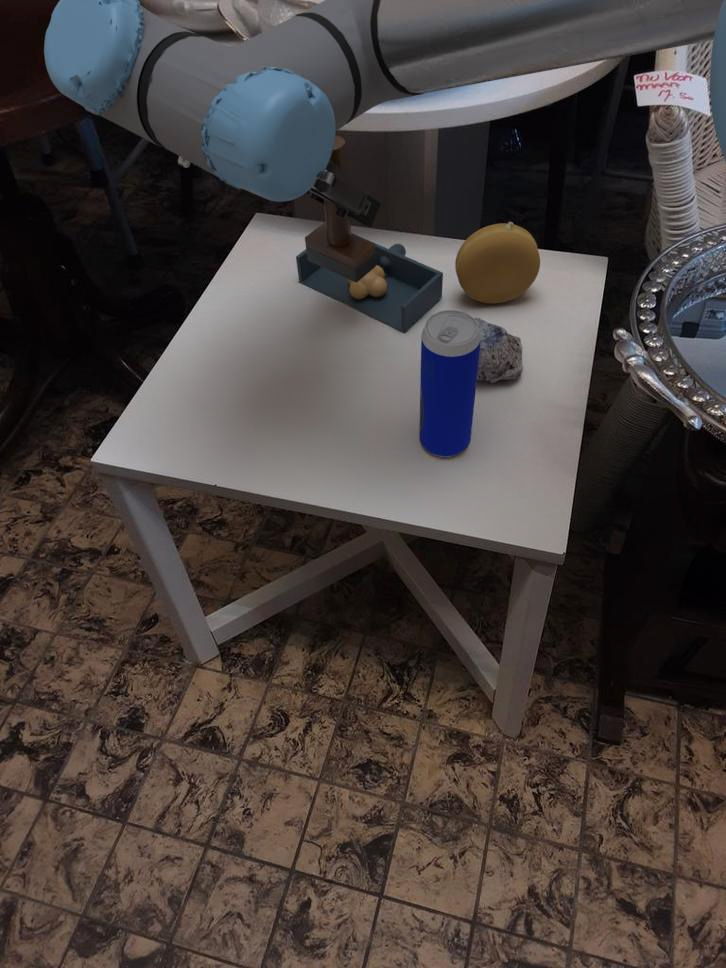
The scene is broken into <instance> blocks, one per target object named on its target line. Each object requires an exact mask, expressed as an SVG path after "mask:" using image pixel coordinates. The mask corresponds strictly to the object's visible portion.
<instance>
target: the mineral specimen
mask: <svg viewBox="0 0 726 968" xmlns="http://www.w3.org/2000/svg"><path fill="white" fill-rule="evenodd" d="M472 317H473V316H472ZM473 318H474V319H475V320H476V322H477V323H478V326H479V330H480V333H481V343H480V353H479V362H478V372H477V381H478V380H479V381H485V382H488V383H489V382H490V383H491V384H495V383H496V382H499V381H501V380H504V381H505V380H506V381H507V380H508V381H509V380H514V379H519V378H520V377H521V376H522V372H523V370H524V368H523V348H524V347H523V345H522V340H521V337H519V336H515V335H512V334H510V333H508V331H507V330H506V329H505V327H502V326H499V325H497V324H493V323H490V322H488V321H485V320H484V319H482V318H480V317H477V316H476V317H473Z"/></svg>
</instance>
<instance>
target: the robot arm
mask: <svg viewBox="0 0 726 968" xmlns="http://www.w3.org/2000/svg"><path fill="white" fill-rule="evenodd" d="M50 17H51V18H50V22H49V24H48V27H47V29H46V31H45V36H44V46H43V55H44V62H45V68H46V71H47V73H48V76H49V79H50V80H51V83H53V85H54V87H55V88H56V89H57V90H58V91H59V92H60V94H62V95H64V96H65V97H67V98H69V99H70V100H71V101H73V102H75V103H76V104H79V106H82V107H83V108H84V109H85V110H86V112H90V113H91V114H93V115H96V116H100V117H102V118H104V119H106V120H108V121H109V122H112V123H114V124H116V125H118V126H120V127H121V128H123V129H125V130H127V131H129V132H130V133H132V134H135V135H136V136H138V137H141V138H142V139H145V140H146V141H148V142H150V143H152V144H154V145H156V146H158V147H160V148H162V149H165V150H167V151H169V152H171V153H173V154H175V155H177V156H178V159H177V163H178V165H179V166H180V167H182V168H185V169H186V168H190V166H191V163H192V164H193V165H194V166H197V167H199V168H201V169H202V170H204V171H206V172H208V173H210V174H212V175H213V176H215V177H217V178H218V179H219V180H220V181H222V182H224V183H225V184H226V185H228V186H231V187H232V188H236V189H238V190H241V189H242V190H245V191H247V192H249V193H251V194H254V195H256V196H258V197H261V198H263V199H266V200H269V201H271V202H277V203H278V202H279V203H280V202H289V201H293V200H296V199H298V198H300V197H302V196H306V195H307V196H309V195H310V193H311V195H310V198H311V200H314V201H316V202H317V203H319V204H321V205H322V206H324V200H323V199H325V200H327V201H329V202H330V203H332V204H334V205H336V209H337V212H336V215H338V216H340V217H342V218H346V215H348V216H350V218H352V219H353V220H356V221H357V222H359V223H360V224H362V225H363V226H365V227H368V228H370V229H371V228H372V227H373V224H374V222H375V219H376V217H377V215H378V212H379V211H380V208H381V205H382V202H380V201H378V200H377V199H376V198H374V197H372V196H371V195H369V194H370V190H369V189H368V188H367V187H366V186H364V185H362V184H360V183H359V182H358V181H356V180H355V179H353V177H351V176H350V175H349V174H348V173H347V174H345V173H344V172H343V171H341V170H340V169H339V167H338V166H337V165H336V164H334V163H335V162H333V161H331V160H330V157H331V154H332V151H333V147H334V141H335V136H336V132H337V131H338V130H340V129H342V128H343V127H344V126H346V125H348V124H349V123H351V122H352V121H353V120H355V119H357V118H358V117H360V116H361V115H363V114H364V113H366V112H368V111H370V110H371V109H373V108H375V107H377V106H378V105H381V104H383V103H386V102H391V101H395V100H400V99H406V98H411V97H416V96H421V95H424V94H428V93H434V92H439V91H444V90H450V89H456V88H461V87H465V86H471V85H478V84H482V83H487V82H494V81H499V80H503V79H509V78H516V77H521V76H526V75H531V74H536V73H542V72H548V71H554V70H558V69H564V68H570V67H575V66H580V65H586V64H590V63H597V62H602V61H608V60H614V59H618V58H624V57H630V56H635V55H640V54H641V55H642V54H646V53H650V52H651V53H652V52H656V51H657V52H658V51H662V50H667V49H672V48H678V47H685V46H689V45H695V44H701V43H706V42H710V41H712V46H711V53H710V54H711V56H710V68H709V96H710V108H711V115H712V121H713V126H714V131H715V135H716V139H717V143H718V146H719V148H720V151H721V153H722V156H723V157H722V158H723V159H724V162H726V0H323V1H320V2H319V3H317V4H315V5H314V6H312V7H310V8H308V9H306V10H305V11H302V12H299V13H297V14H295V15H294V16H292V17H290V18H287V19H285V20H283V21H282V22H280V23H278V24H276V25H274V26H272V27H270V28H268V29H267V30H265V31H263V32H260V33H259V34H256V35H255V36H253V37H251V38H249V39H247V40H245V41H244V42H242V43H239V44H237V45H233V46H229V45H227V44H226V45H225V44H223V43H221V42H218V41H216V40H214V39H211V38H208V37H206V36H203V35H201V34H198V33H196V32H193V31H191V30H189V29H186V28H184V27H182V26H179V25H177V24H174V23H172V22H170V21H167V20H166V19H163V18H161V17H160V16H158V15H156V14H155V13H153V12H151V11H150V10H149V9H146V8H145V7H144V6H143V5H141V1H139V0H59V1H58V2H57V4H56V6H55V7H54V9H53V11H52V12H51V16H50Z"/></svg>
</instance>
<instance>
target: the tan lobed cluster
mask: <svg viewBox="0 0 726 968" xmlns="http://www.w3.org/2000/svg"><path fill="white" fill-rule="evenodd" d="M385 275H386V274H385V273H384V270H383V269H382V268H381V267H380V266H378V265H376V267H375V268H374V269H372V270H371V271H370V272H369V273H368V274H366V275H365V276H364V277H363V278H362V279H360V280H359V281H358V282H357V283H356V282H353V281H351V280H349V279H348V282H349V284H350V287H349V291H350V293H351V295H352V296H353V297H354V298H356V299H363V298H365V297H366V296H367V295H372V296H374V297H381V296H383V295H384V294H385V293H386V291H387V282H386V281H385V279H384V278H385Z"/></svg>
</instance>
